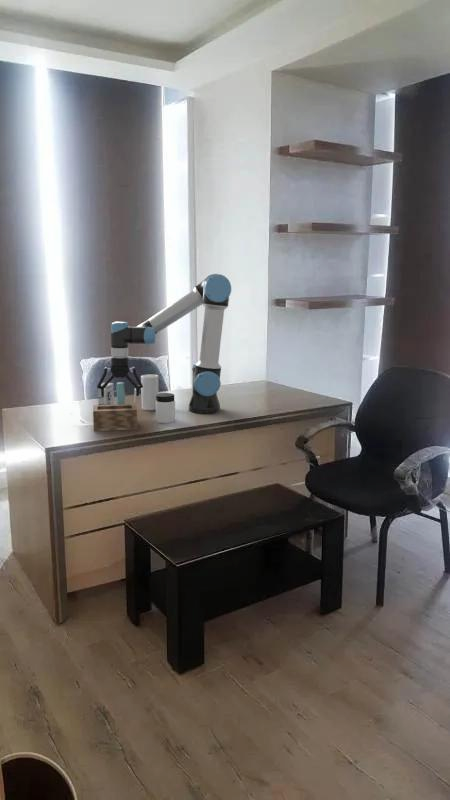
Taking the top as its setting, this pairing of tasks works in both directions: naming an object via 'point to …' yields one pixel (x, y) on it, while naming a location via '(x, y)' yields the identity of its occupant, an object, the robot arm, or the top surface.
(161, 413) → the jar
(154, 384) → the cup
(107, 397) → the ink box
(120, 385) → the peg
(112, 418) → the socket
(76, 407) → the top surface
